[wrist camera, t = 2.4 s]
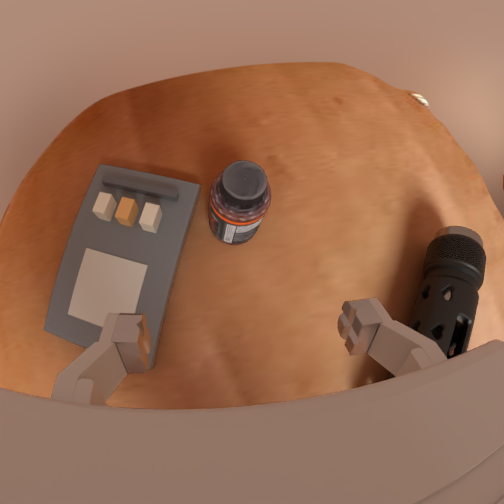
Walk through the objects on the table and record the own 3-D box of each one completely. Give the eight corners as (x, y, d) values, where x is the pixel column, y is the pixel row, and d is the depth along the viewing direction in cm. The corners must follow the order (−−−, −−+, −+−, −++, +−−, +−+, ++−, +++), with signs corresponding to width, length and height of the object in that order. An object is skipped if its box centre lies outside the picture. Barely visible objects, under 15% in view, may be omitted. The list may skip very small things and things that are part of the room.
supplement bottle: (205, 204, 36) (206, 153, 25) (252, 198, 37) (269, 147, 26) (213, 250, 34) (216, 213, 24) (262, 242, 36) (286, 204, 25)
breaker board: (153, 367, 30) (145, 373, 25) (51, 330, 29) (33, 329, 24) (200, 192, 36) (200, 174, 32) (104, 171, 35) (94, 153, 31)
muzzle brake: (348, 418, 31) (393, 441, 22) (415, 237, 40) (460, 213, 30) (397, 433, 31) (444, 452, 22) (453, 265, 40) (498, 249, 30)
